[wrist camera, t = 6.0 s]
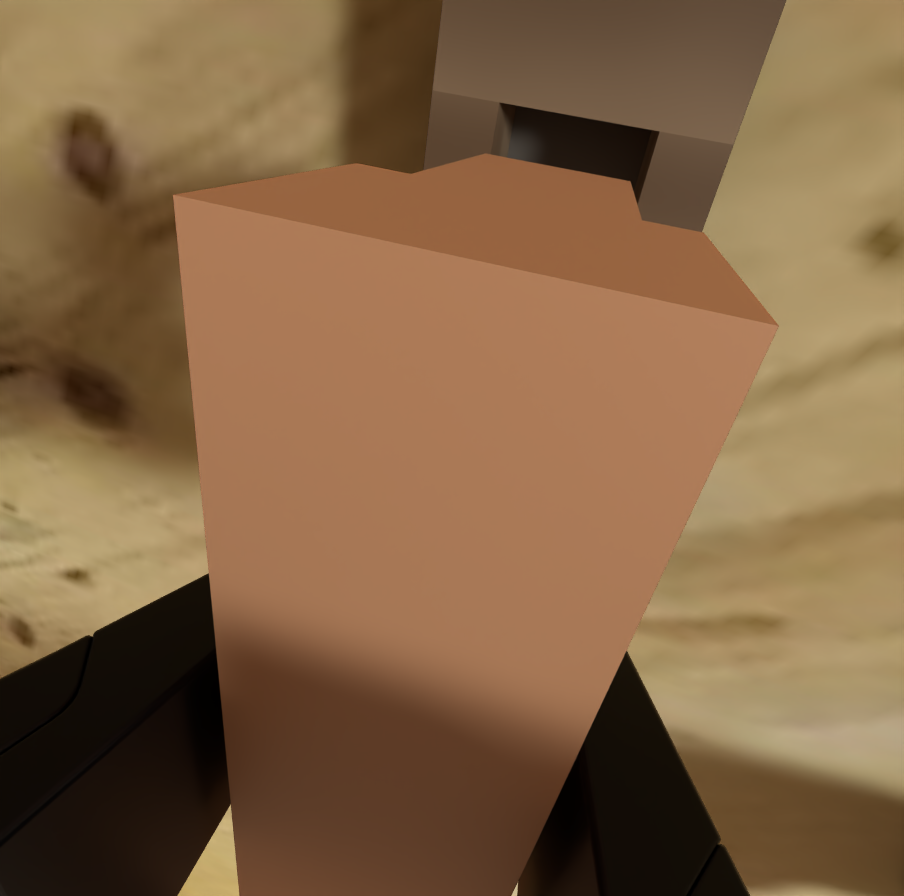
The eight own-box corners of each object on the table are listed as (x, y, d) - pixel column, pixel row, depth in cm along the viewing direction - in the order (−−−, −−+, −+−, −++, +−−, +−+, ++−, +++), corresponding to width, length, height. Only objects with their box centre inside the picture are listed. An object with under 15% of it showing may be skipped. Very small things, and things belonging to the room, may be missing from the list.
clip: (512, 670, 13) (448, 1030, 8) (385, 631, 13) (245, 950, 8) (668, 188, 8) (777, 326, 3) (450, 146, 8) (171, 195, 3)
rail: (557, 584, 21) (549, 648, 19) (401, 541, 22) (374, 596, 19) (775, -47, 12) (820, -93, 9) (489, -87, 12) (458, -140, 10)
